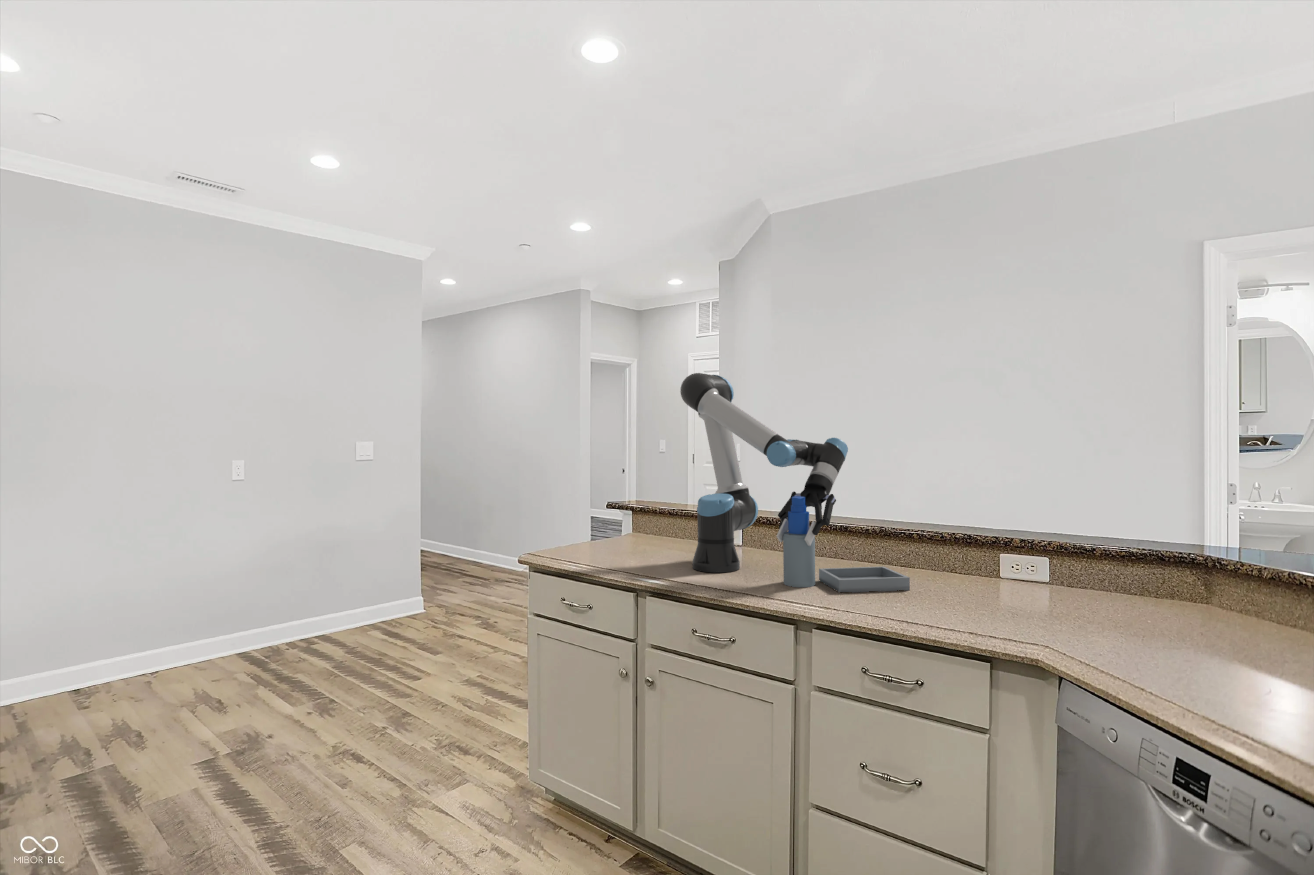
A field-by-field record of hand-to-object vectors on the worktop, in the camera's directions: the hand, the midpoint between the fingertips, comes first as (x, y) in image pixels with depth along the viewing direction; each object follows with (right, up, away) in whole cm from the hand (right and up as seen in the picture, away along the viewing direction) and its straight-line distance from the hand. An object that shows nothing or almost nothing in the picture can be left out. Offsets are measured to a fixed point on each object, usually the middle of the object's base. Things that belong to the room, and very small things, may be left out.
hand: (793, 540), depth 183 cm
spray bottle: (+2, -13, +2) cm, 13 cm away
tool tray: (+20, -13, 0) cm, 23 cm away
